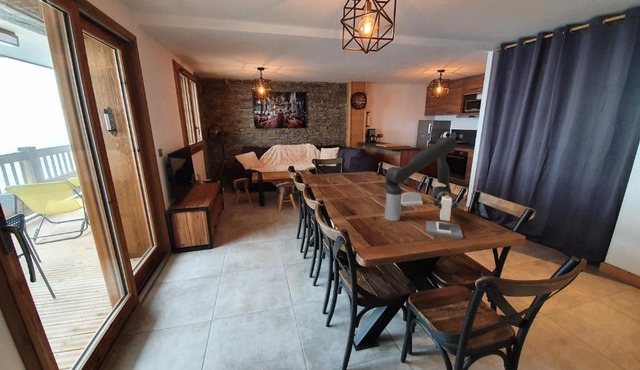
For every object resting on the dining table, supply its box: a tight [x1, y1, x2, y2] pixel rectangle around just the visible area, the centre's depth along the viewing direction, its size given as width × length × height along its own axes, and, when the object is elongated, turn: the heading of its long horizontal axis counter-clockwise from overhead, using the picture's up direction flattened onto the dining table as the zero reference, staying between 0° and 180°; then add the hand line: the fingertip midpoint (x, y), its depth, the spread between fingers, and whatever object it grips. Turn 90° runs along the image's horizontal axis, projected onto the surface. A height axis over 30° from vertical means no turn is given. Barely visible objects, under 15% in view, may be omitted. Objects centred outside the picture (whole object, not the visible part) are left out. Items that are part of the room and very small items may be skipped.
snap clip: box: [438, 221, 451, 230], centre depth 139 cm, size 6×2×3 cm, turn 68°
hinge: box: [401, 191, 424, 207], centre depth 188 cm, size 17×5×10 cm, turn 99°
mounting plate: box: [425, 220, 464, 240], centre depth 142 cm, size 18×16×2 cm
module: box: [439, 195, 453, 222], centre depth 141 cm, size 5×6×14 cm
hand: (446, 208), depth 138 cm, fingers closed on module, 4 cm apart
